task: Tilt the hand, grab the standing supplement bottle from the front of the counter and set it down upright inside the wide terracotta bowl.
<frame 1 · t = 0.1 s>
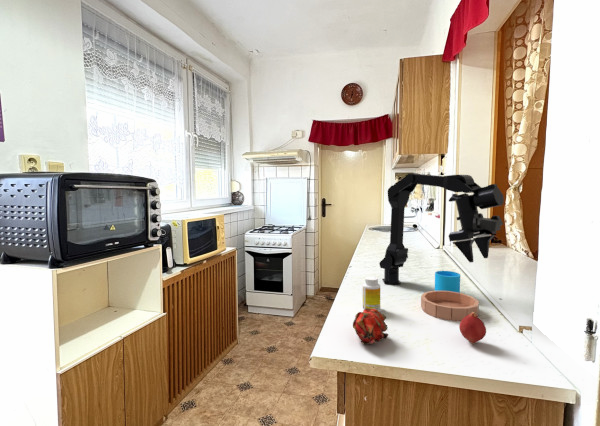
hand: (479, 260, 102), 15 cm above the counter, tool pointing down, fingers open, 9 cm apart
supplement bottle: (371, 310, 102), on the counter
mug: (446, 295, 116), on the counter
onion: (471, 343, 80), on the counter
dragon fruit: (370, 341, 82), on the counter
bowl: (448, 310, 100), on the counter
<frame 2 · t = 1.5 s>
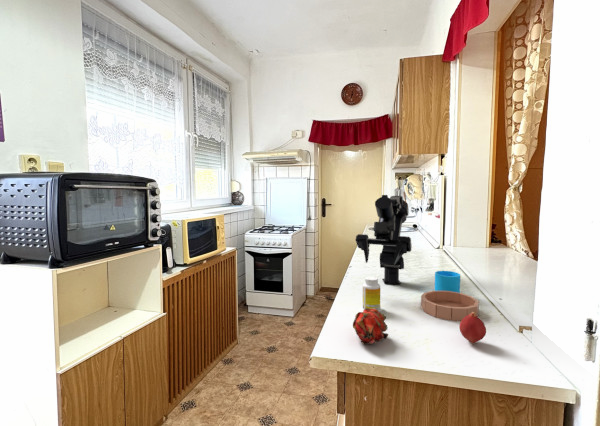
hand: (379, 263, 108), 13 cm above the counter, tool tilted 45°, fingers open, 9 cm apart
nothing on the counter moved.
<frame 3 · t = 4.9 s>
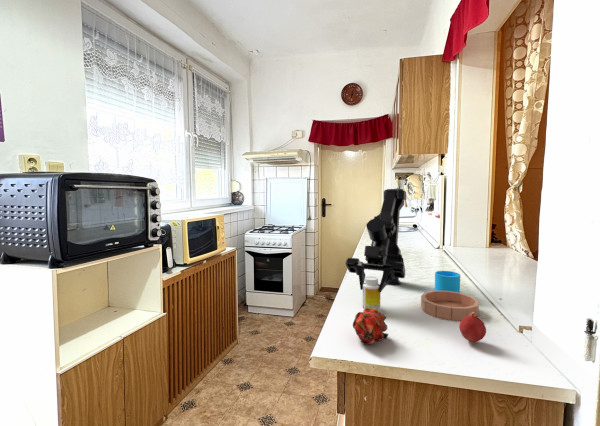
hand: (370, 290, 101), 7 cm above the counter, tool tilted 45°, fingers closed on supplement bottle, 6 cm apart
supplement bottle: (371, 309, 102), on the counter, touching gripper
everything else where it was.
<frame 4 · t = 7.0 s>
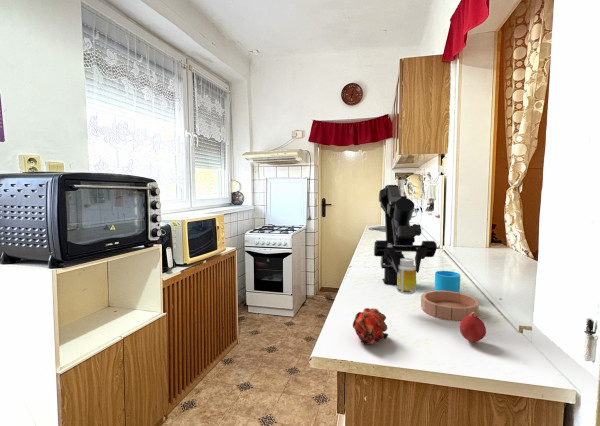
hand: (407, 272, 97), 13 cm above the counter, tool tilted 45°, fingers closed on supplement bottle, 6 cm apart
supplement bottle: (406, 292, 99), point 6 cm above the counter, touching gripper
everything else where it was.
when the fingers open (8 cm above the counter, at t = 9.6 s): supplement bottle stays where it is, resting on bowl.
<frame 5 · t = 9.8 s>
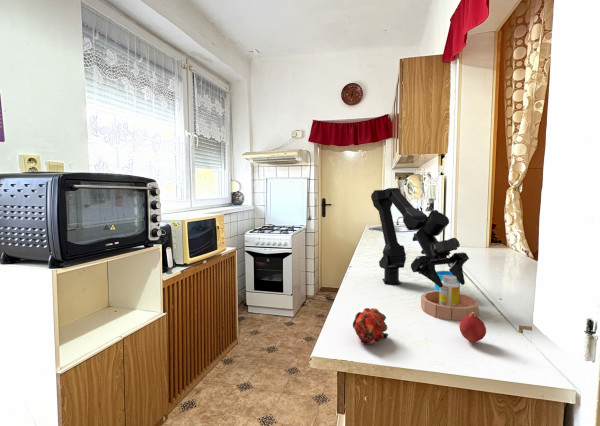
hand: (452, 285, 98), 9 cm above the counter, tool tilted 45°, fingers open, 8 cm apart
supplement bottle: (448, 308, 100), point 1 cm above the counter, touching bowl
everything else where it was.
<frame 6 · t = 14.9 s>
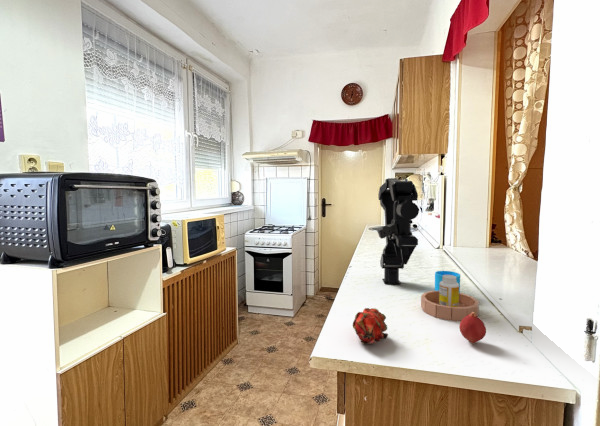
hand: (401, 261, 112), 13 cm above the counter, tool pointing down, fingers open, 9 cm apart
nothing on the counter moved.
at the end: supplement bottle inside the target area on the bowl (0.2 cm from its centre), point 0.6 cm above the bowl's base; supplement bottle tilted 0°; the gripper is holding nothing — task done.
